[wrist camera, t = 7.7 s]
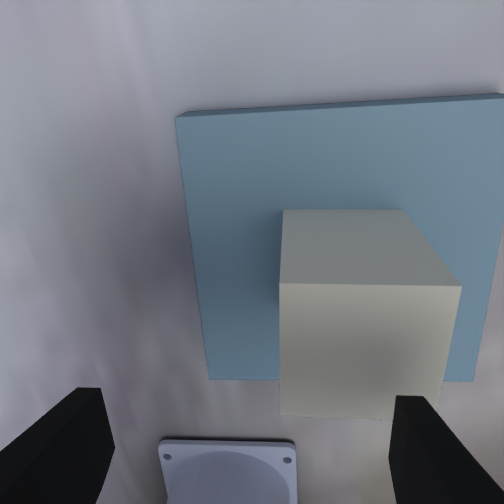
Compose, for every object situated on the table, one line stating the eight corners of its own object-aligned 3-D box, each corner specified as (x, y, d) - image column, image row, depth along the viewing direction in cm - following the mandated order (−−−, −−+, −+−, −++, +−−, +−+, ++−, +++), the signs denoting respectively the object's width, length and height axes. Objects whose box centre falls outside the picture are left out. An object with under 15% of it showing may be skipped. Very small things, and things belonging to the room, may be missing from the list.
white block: (390, 311, 18) (434, 422, 12) (283, 309, 18) (279, 415, 13) (403, 209, 16) (462, 286, 10) (283, 209, 16) (279, 283, 11)
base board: (456, 353, 20) (472, 381, 19) (216, 353, 22) (209, 379, 20) (499, 93, 16) (527, 97, 14) (186, 111, 17) (174, 117, 15)
